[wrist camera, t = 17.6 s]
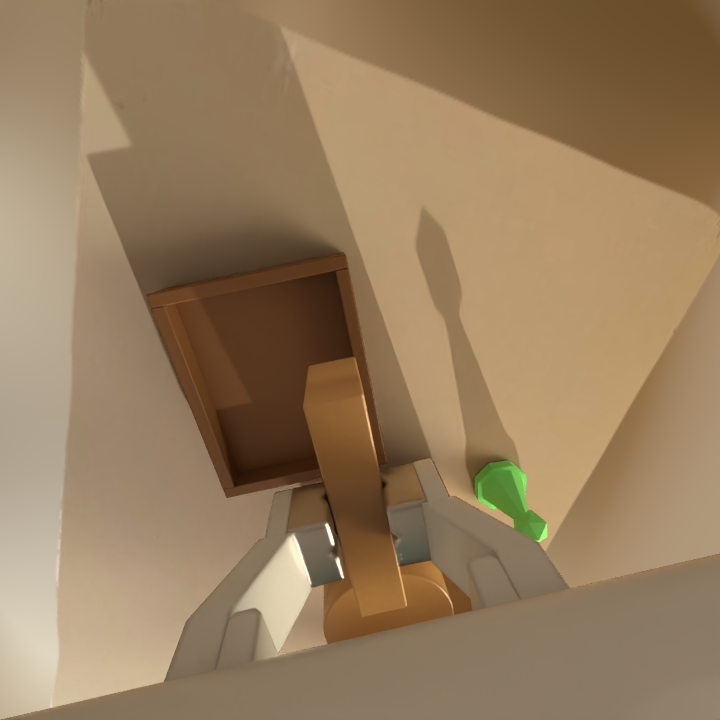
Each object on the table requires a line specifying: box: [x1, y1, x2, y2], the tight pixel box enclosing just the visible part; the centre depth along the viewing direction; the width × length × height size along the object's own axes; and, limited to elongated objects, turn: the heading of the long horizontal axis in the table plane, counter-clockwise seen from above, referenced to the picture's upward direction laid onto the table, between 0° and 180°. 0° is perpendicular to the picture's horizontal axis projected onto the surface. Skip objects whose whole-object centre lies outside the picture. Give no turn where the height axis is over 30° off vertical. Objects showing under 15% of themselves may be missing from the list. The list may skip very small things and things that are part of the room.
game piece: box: [474, 460, 547, 542], centre depth 27 cm, size 4×4×6 cm
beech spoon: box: [303, 357, 453, 644], centre depth 11 cm, size 11×4×3 cm, turn 11°
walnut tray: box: [146, 252, 387, 498], centre depth 24 cm, size 15×12×2 cm
